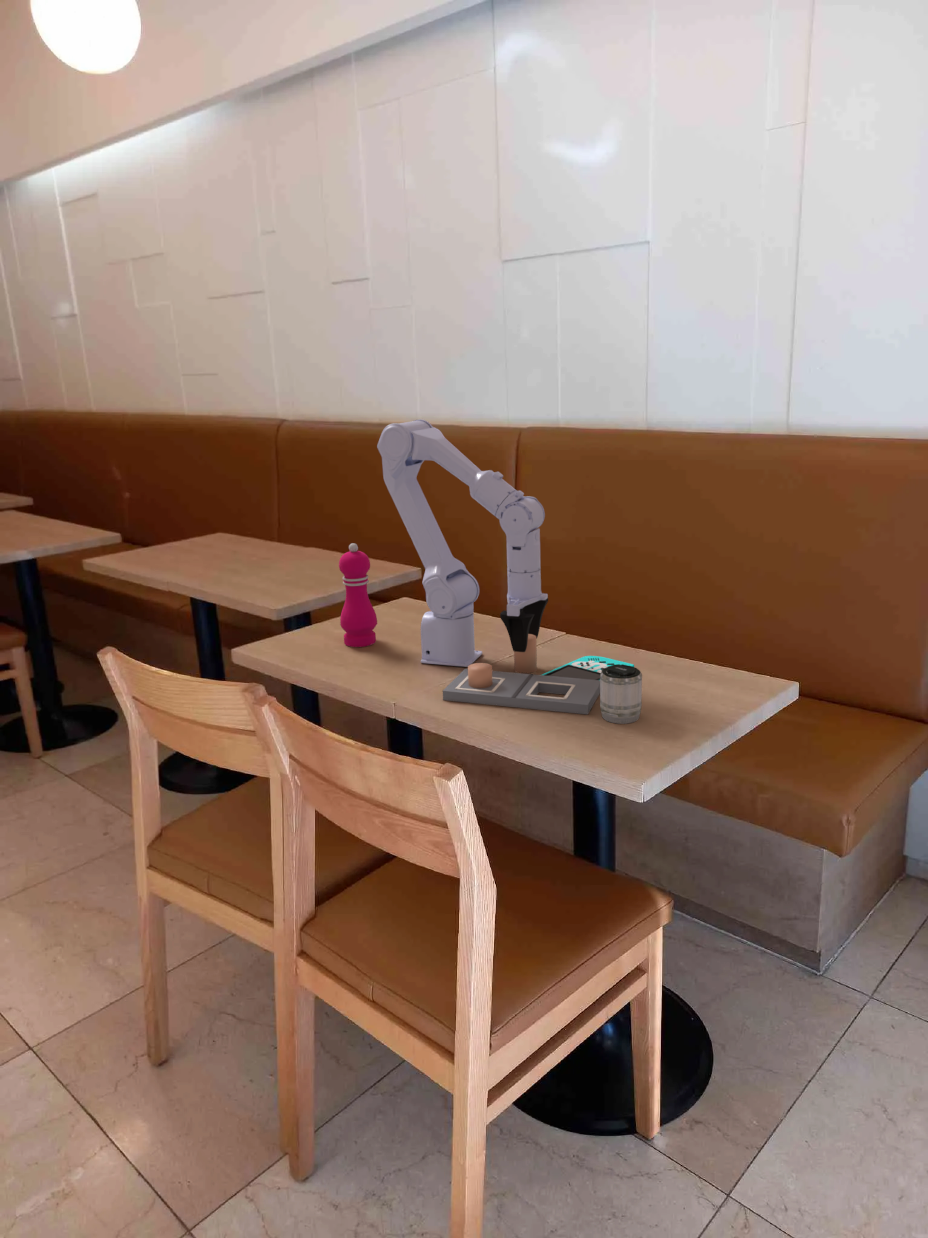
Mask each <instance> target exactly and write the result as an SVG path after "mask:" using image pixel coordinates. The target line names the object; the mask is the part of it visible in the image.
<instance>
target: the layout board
mask: <svg viewBox="0 0 928 1238" xmlns="http://www.w3.org/2000/svg"><path fill="white" fill-rule="evenodd" d="M539 693H544V694H553V695H554V694H557V695H564V696H563V697H559V696H549V695H548V696H547V695H538V694H539ZM598 697H600V680H590V679H579V678H567V677H556V676H545V675H542V674H534V673H519V672H508V671H499V670H498V671H497V670H493V665H492V664H490V663H487V662H476V663H475V662H473V663H472V664H471V665H469V666H468V667H467V668H464V669H463V670H462V671H461V672H460V673H459V674H458V675H457V676H456V677H455V678H454V679H453V680H452V681H451V682H450V683H449V684H448V685H447V686H446V687H445V688H444V689H442V700H443V701H449V702H451V701H452V702H459V703H471V704H479V705H489V706H490V705H491V706H501V707H512V708H517V709H518V708H520V709H531V710H539V711H550V712H558V713H568V714H569V713H570V714H577V715H578V714H579V715H588V714H589V713H590V711H591V709H592V708H593V706H594V705H595V703H596V702H597V701H596V700H597V699H598Z"/></svg>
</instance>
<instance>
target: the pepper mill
mask: <svg viewBox="0 0 928 1238" xmlns="http://www.w3.org/2000/svg"><path fill="white" fill-rule="evenodd" d="M348 550H349V551H347V552H345V553H343V554H342V555H341V557H340V558H339V562H338V568H339V571H340V572H341V573H342V574H343V576H342V580H343V581H342V584H343V585H344V586H345V599H344V603H343V607H342V610H341V614H340V618H339V619H340V622H339V625H340V627H341V629H342V630H343V631H344V632H345V633H344V634H343V641H344V642H343V643H344V645H345V646H347V647H351V648H364V647H368V646H372V645H374V644H375V643H376V642H377V635H376V632H375V631H374V629H375V628H376V626H377V624H378V619H377V614H376V611H375V608H374V607H373V605H372V603H371V600H370V599H369V598H370V597H369V595H368V589H367V588H368V583H369V575H368V574H367V573H368V572H369V570H370V568H371V561H370V558H369V556H368V555H367V554H366V553H365V552H364V551H361V550H359V547H358V544H357V543H353V542H352V543H350V544H349V545H348Z"/></svg>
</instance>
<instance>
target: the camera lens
mask: <svg viewBox="0 0 928 1238" xmlns="http://www.w3.org/2000/svg"><path fill="white" fill-rule="evenodd" d="M642 691H643V673H642V671H641V670H640V669H639V668H637V667H635V666H634V667H632V666H627V665H623V664H622V665H620V664H617V665H612V666H609V667H606V668H605V669H603V670H602V672H601V673H600V694H599V698H600V699H599V706H600V713H601V717H602V718H603V719H604V720H605V721H606V722H608V723H613V724H618V725H619V724H620V725H621V724H622V725H625V724H632V723H635V722H636V721H638V720H639V719H640V714H641V710H642V706H643V705H642V695H643V692H642Z"/></svg>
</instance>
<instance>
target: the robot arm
mask: <svg viewBox="0 0 928 1238" xmlns="http://www.w3.org/2000/svg"><path fill="white" fill-rule="evenodd" d="M376 448H377V450H378V453H379V454H380V456H381V464H382V476H383V481H384V484H385V486H386V488H387V491H388V493H389V495H390V497H391V499H392V501H393V503H394V505H395V508H396V509H397V512H398V514H399V517H400V518H401V520H402V522H403V524H404V526H405V528H406V531H407V533H408V535H409V538H411V541H412V543H413V546H414V548H415V550H416V552H417V555H418V556H419V558H420V560H421V563H422V565H423V567H424V569H425V571H424V574H423V578H422V585H423V589H424V591H425V600H426V605H427V606H428V609H429V611H426V612H424V614H423V615H422V619H421V623H420V641H421V642H420V645H421V659H420V663H422V664H430V665H441V666H454V667H462V668H463V667H464V668H468V666H469V665H471V664H474V663H475V661H476V660H478V658H479V657H481V656H482V654H483V651H482V650H476V648H475V647H476V645H475V620H474V618H475V616H474V602H476V601H477V600H478V597H479V595H480V585H479V582H478V580H477V579H476V578H475V576H473V575H472V574H471V573H470V572H469V571H468V569H467V568H466V565H465V564H464V562H462V561H461V560H459V559H458V558H457V557H456V558H455V557H454V555H453V554H452V551H451V549H450V547H449V545H448V543H447V541H446V539H445V536H444V535H443V533H442V531H441V528H440V526H439V524H438V522H437V519H436V518H435V515H434V513H433V511H432V508H431V507H430V505H429V503H428V500H427V498H426V496H425V494H424V492H423V489H422V487H421V485H420V484H419V481H418V479H417V476H418V474H419V472H420V469H421V467H422V464H423V463H424V462H425V461H433V462H435V463H436V464H438V465H440V466H441V468H443V469H444V470H446V471H447V472H449V473H450V474H451V475H453V476H454V477H455V478H457V479H459V480H460V481H461V482H462V483H464V484H465V485H466V486H468V487H469V495H470V497H471V498H472V499H473V500H475V501H476V502H477V503H478V504H480V505H481V506H482V507H483V508H484V509H486V511H488V512H489V513H490V514H491V515H493V516H494V517H495V518H496V519H498V520H499V526H500V527H501V530H502V531H503V532H504V533H505V536H506V565H507V567H506V570H507V594H506V599H507V604H506V610H502V611H501V612H500V613H499V615H500V616H499V617H500V620H501V621H502V623H503V625H504V627H505V628H506V631H507V633H508V636H509V640H510V641H509V642H510V644H511V648H512V651H513V653H514V652H525V651H526V648H527V642H528V634H532V635H535V636H536V640H537V639H538V638H539V633H540V627H541V624H542V623H541V621H542V617H543V614H544V611H545V609H546V606H547V604H548V602H549V597H548V596H549V595H548V593H544V592H542V579H541V576H542V575H541V572H542V571H541V569H542V568H541V533H540V532H541V529H540V528H541V526H542V525H543V523H544V520H545V517H546V513H545V509H544V506H543V504H542V503H541V502H540V501H539V500H538V498H536V497H535V496H530V495H529V496H528V495H527V496H524V495H525V493H524V492H523V491H522V490H517V489H515V488H514V487H513V486H512V485H511V484H510V483H508V482H507V481H506V480H505V479H503V478H504V475H503V474H502V473H501V472H500V471H495V472H494V471H493V470H492V469H489V470H481V469H480V468H479V467H478V466H477V465H475V464H474V463H473V462H472V461H471V460H470V459H469V458H468V457H467V456H466V455H464V453H462V452H461V451H460V450H459V449H458V447H456V446H454V444H452V442H450V441H449V440H448V439H447V438H446V437H445V436H444V434H443V432H442V431H441V430H440V429H439V428H437V427H434V426H433V425H432V423H430V422H429V421H428V420H425V419H423V418H422V419H420V418H419V419H415V420H412V421H405V422H400V423H398V422H397V423H396V422H394V423H390V424H388V425H386V426H385V427H384V428H383V430H382V431H381V434H380V437H379V440H378V442H377V445H376Z"/></svg>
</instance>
